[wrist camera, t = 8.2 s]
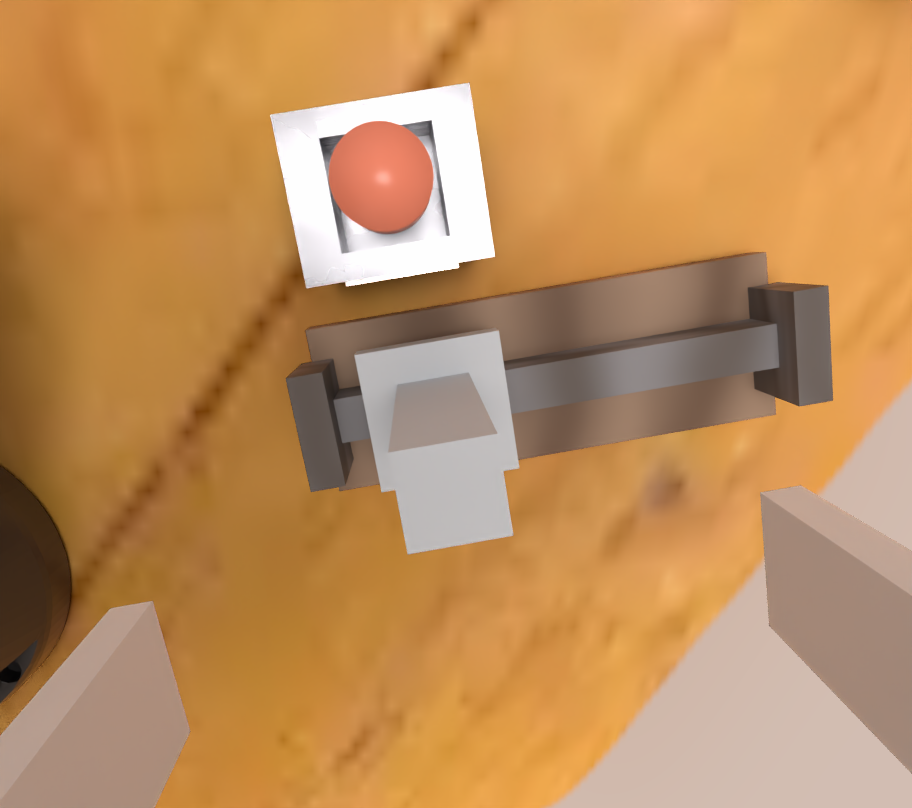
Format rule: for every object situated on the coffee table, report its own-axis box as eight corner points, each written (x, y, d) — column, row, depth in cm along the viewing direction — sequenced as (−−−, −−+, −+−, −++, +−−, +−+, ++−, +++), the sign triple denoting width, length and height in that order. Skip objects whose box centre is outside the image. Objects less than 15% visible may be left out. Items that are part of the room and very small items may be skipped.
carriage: (385, 466, 33) (364, 612, 19) (361, 343, 31) (321, 408, 18) (507, 444, 33) (572, 574, 19) (488, 322, 31) (544, 370, 18)
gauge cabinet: (333, 284, 33) (307, 293, 25) (306, 150, 31) (270, 114, 23) (476, 261, 33) (495, 262, 25) (455, 126, 31) (469, 82, 24)
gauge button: (350, 241, 24) (339, 237, 21) (332, 148, 24) (318, 129, 20) (437, 226, 24) (441, 221, 21) (422, 133, 24) (423, 112, 20)
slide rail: (333, 482, 35) (318, 524, 29) (300, 328, 33) (277, 342, 28) (770, 406, 35) (834, 433, 30) (760, 250, 33) (826, 249, 28)
